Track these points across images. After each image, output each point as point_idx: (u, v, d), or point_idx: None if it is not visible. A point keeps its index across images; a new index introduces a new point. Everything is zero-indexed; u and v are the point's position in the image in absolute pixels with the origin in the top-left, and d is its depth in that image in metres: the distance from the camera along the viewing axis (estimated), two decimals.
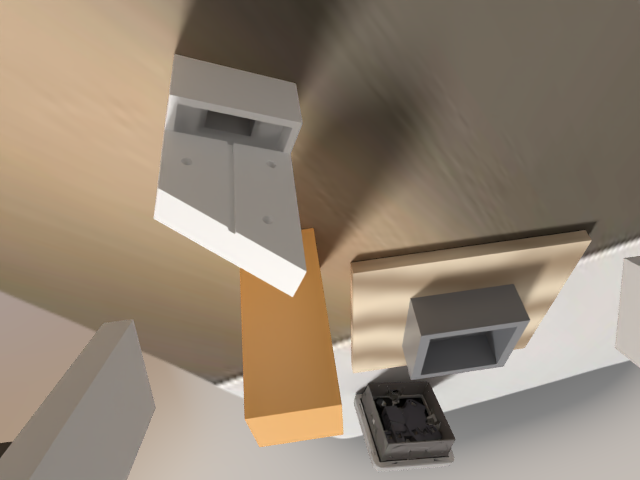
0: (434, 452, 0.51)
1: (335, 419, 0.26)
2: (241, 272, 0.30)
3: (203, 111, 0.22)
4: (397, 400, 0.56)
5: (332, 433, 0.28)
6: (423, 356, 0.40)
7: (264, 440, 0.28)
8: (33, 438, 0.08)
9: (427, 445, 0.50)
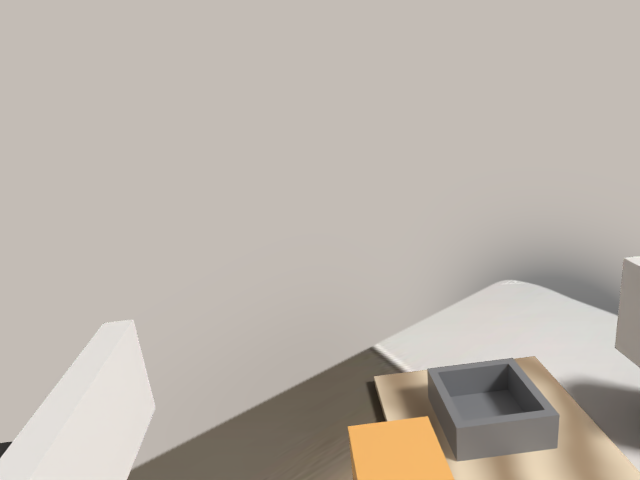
0: None
1: (383, 426, 0.29)
2: None
3: None
4: None
5: (422, 423, 0.29)
6: (499, 417, 0.40)
7: (430, 475, 0.26)
8: (33, 438, 0.08)
9: None
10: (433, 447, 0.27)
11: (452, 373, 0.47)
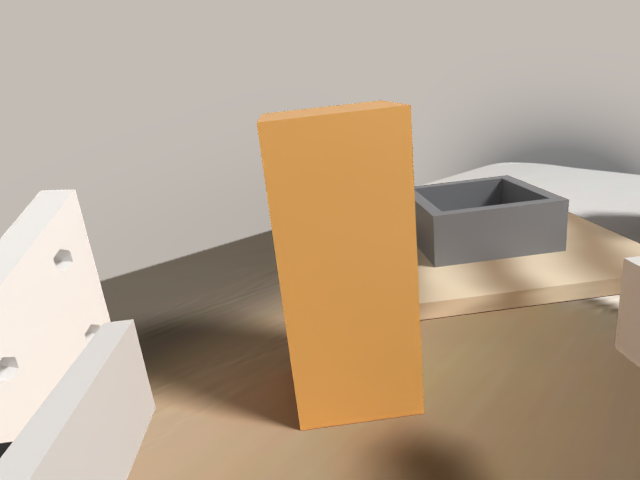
0: None
1: (314, 108, 0.20)
2: (292, 367, 0.18)
3: None
4: None
5: (371, 102, 0.20)
6: (490, 206, 0.30)
7: (373, 108, 0.16)
8: (33, 438, 0.08)
9: None
10: (383, 103, 0.18)
11: (432, 191, 0.37)
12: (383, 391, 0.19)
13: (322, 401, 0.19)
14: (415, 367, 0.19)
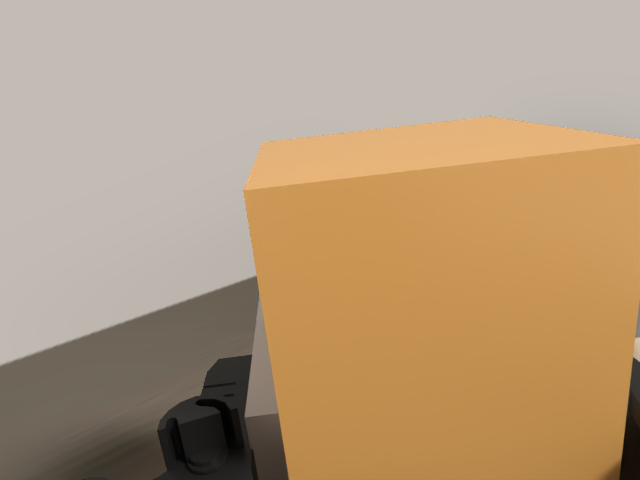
0: None
1: (363, 132, 0.10)
2: None
3: None
4: None
5: (478, 120, 0.10)
6: None
7: (546, 147, 0.06)
8: None
9: None
10: (529, 128, 0.08)
11: None
12: None
13: None
14: None
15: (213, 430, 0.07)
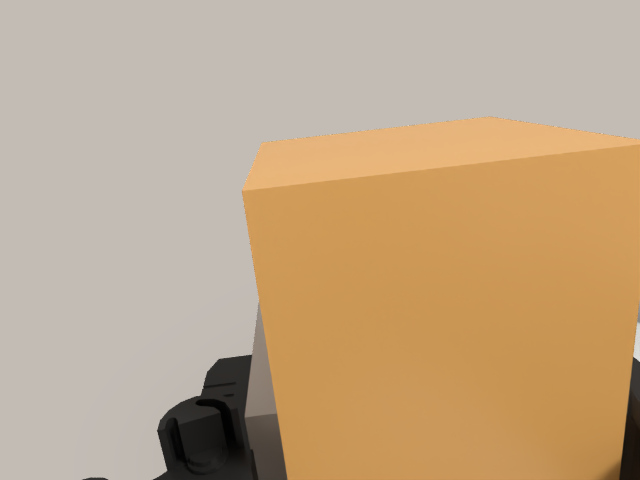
0: None
1: (362, 133, 0.10)
2: None
3: None
4: None
5: (478, 120, 0.10)
6: None
7: (546, 148, 0.06)
8: None
9: None
10: (529, 129, 0.08)
11: None
12: None
13: None
14: None
15: (213, 430, 0.07)
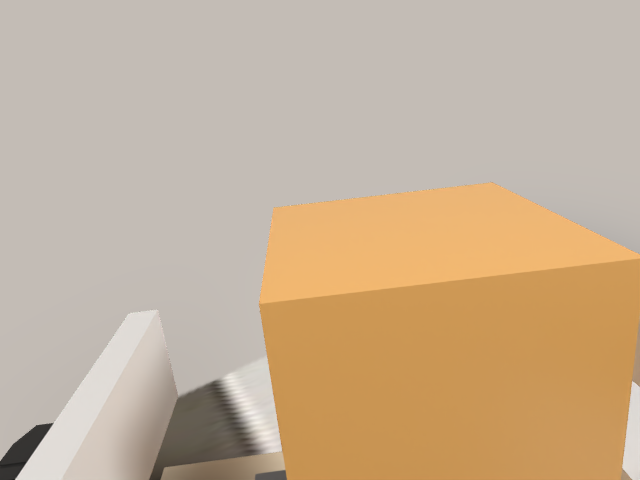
0: None
1: (370, 200, 0.11)
2: None
3: None
4: None
5: (481, 190, 0.10)
6: None
7: (543, 255, 0.07)
8: (74, 418, 0.09)
9: None
10: (528, 214, 0.08)
11: None
12: None
13: None
14: None
15: None
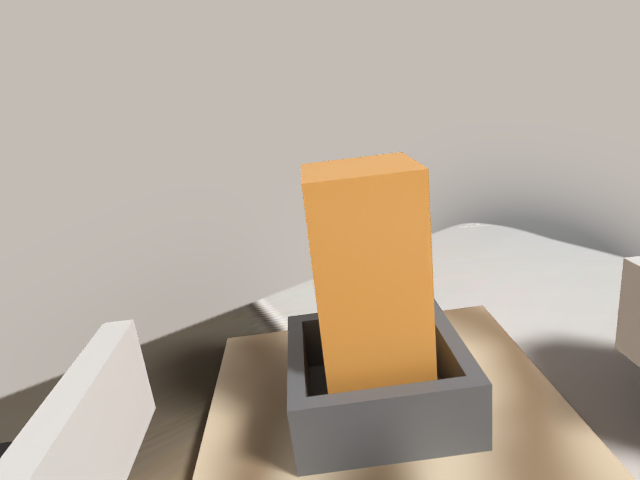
0: None
1: (344, 160, 0.23)
2: None
3: None
4: None
5: (394, 155, 0.23)
6: (376, 390, 0.20)
7: (397, 170, 0.19)
8: (33, 438, 0.08)
9: None
10: (405, 161, 0.21)
11: None
12: None
13: None
14: None
15: None
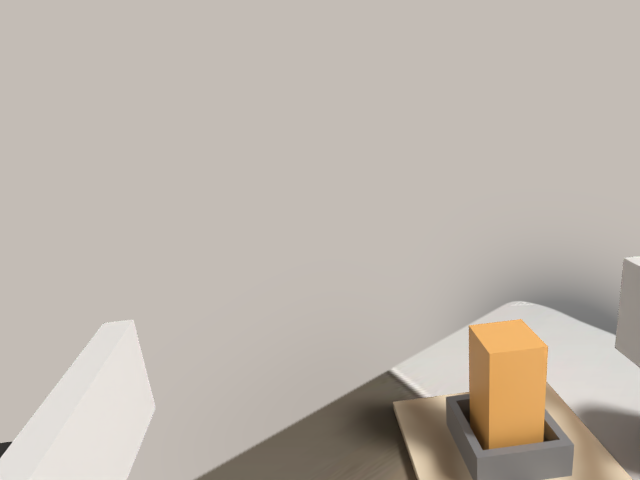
0: None
1: (492, 324, 0.45)
2: (488, 441, 0.43)
3: None
4: None
5: (519, 322, 0.45)
6: (517, 447, 0.42)
7: (532, 345, 0.41)
8: (33, 438, 0.08)
9: None
10: (529, 333, 0.43)
11: None
12: None
13: None
14: (540, 441, 0.44)
15: None
